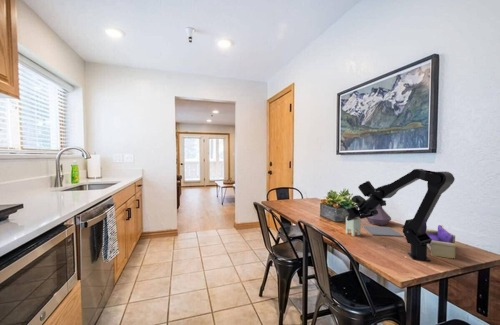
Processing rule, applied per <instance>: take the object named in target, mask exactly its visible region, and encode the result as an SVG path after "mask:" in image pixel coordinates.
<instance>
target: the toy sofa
mask: <svg viewBox="0 0 500 325" xmlns="http://www.w3.org/2000/svg"><path fill="white" fill-rule="evenodd" d="M426 234H427V235H428V236H429V237H430V238H431V239H432V241H431V243H430V244H427V249H429V250H430V256H435V257H441V258H448V259H453V258H454V259H456V248H457V247H456V246H457V244H456V234H452V233H451V232H450V231H449V230H447V229H446V228H445V227H444V225H442V224H439V225H437V230H434V229H428V228H427V229H426Z"/></svg>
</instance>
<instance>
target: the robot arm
mask: <svg viewBox="0 0 500 325" xmlns="http://www.w3.org/2000/svg"><path fill="white" fill-rule="evenodd" d="M418 180H421V181H424V182H427V184H426V187H427V190H426V193H425V195H424V196H423V199H422V201H421V203H420V205H418V209H417V211H416V212H415V214H414V217H413V218H411V219H406V220H405V222H404V225H403V226H402V227H401V228H402V233H403V236H404V238H405V241H406V243H407V244H409V245H410V252H407V255H408V256H409V257H410V258H411V259H412V260H415V261H425V262H431V259H430V258H429V257H428V246H427V244H430V243H431V241H432V239H431V238H430V237H429V236H428V235H427V234H426V229H428V226H427V222H428V220H429V218H430V217H431V215H432V213H433V211H434V209H435V207H436V205H437V204H438V202H439V199H440V198H441V196H442V194H443V193H444V192H446V191H447V190H448V189H450V187H451V186H452V185H453V184H454V182H455V176H454V174H453V173H451V172H449V171H433V170H426V169H424V168H415V169H412V170H411V171H409V172H408V173H407V174H405V175H403V176H401V177H400V178H398V179H396V180H394V181H393V182H391V183H388V184H384V185H381V186H378V187H377V188H375V187H374V186H373V184H372V183H371V181H369V180H366V181H365V182H363V183H361V184H358V190H359V191H360V192H361V194H362V195H363V196H364V197H367V199H366V198H364V197H363V196H361V195H359V194H358V195H353V196H352V197H351V201H352V203H354V204H356V206H349V207H347V208H346V211H347V212H348V215H347V217H348V218H347V220H348V221H350V220H354V219H358V218H360V220H362V219H367V217H372V216H376V215H377V214H378V211H377V210H376V207H378V206H379V205H380V206H382V207H386V206H387V200H384V199H391V198H392V197H394V196H395V195H396V194H397V193H398V192H399V191H400V190H402V189H403V188H405V187H408V186H409V185H411V184H413V183H415V182H416V181H418ZM356 207H357V208H358V209H357V208H356ZM372 213H373V214H372Z"/></svg>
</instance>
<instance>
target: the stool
mask: <svg viewBox="0 0 500 325" xmlns="http://www.w3.org/2000/svg"><path fill="white" fill-rule="evenodd" d="M347 218H348V216H345V234H349V233H351V236H353V237H355V236H356V235H357V236H361V219H360V218H358V219H354V220H350V221H348V220H347ZM349 231H350V232H349Z"/></svg>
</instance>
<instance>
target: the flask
mask: <svg viewBox="0 0 500 325" xmlns="http://www.w3.org/2000/svg"><path fill="white" fill-rule="evenodd" d="M376 210H377V211H378V214H377V215H376V216H372V217H367V218H366V220H368V222H369V224H372V225H375V224H376V225H375V226H386V225H387V224H388V223H389V222H391V221H392V217H391V216H390V215H389V214H388V213H387V212H386V211H385V209H384V208H383V206H380V205H379V206H378V207H376ZM372 214H373V213H372Z"/></svg>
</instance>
